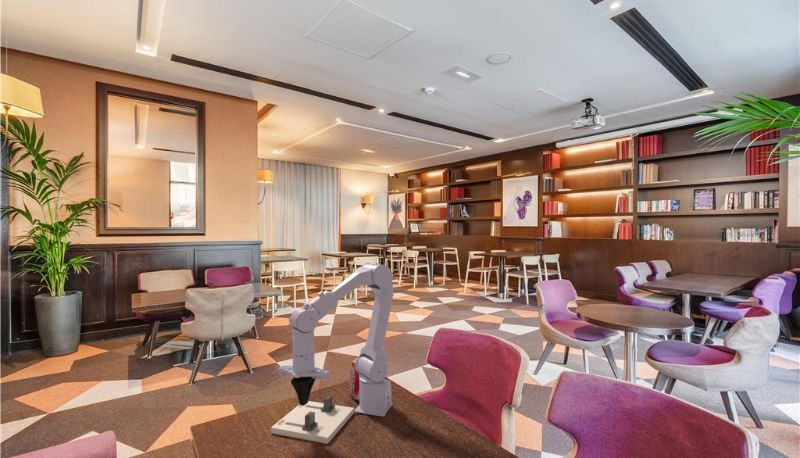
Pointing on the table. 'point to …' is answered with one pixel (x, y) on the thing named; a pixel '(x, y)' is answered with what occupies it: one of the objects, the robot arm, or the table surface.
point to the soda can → (354, 381)
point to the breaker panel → (326, 421)
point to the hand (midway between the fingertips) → (304, 403)
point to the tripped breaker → (310, 421)
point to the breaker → (328, 404)
